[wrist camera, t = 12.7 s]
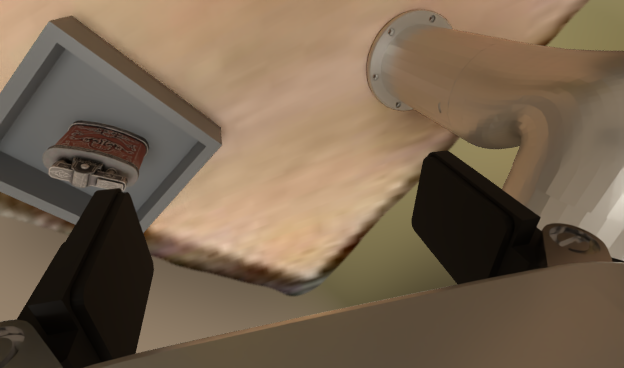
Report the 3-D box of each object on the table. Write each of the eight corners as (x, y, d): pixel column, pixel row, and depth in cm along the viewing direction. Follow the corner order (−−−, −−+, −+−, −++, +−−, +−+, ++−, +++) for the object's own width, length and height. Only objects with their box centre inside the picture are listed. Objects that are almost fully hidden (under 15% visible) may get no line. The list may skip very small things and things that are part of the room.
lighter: (68, 141, 37) (28, 186, 29) (72, 114, 36) (31, 152, 28) (145, 160, 41) (129, 205, 32) (151, 136, 39) (136, 177, 31)
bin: (220, 127, 42) (221, 144, 37) (137, 221, 46) (129, 248, 41) (71, 15, 33) (49, 21, 28) (-19, 145, 36) (-51, 169, 32)
